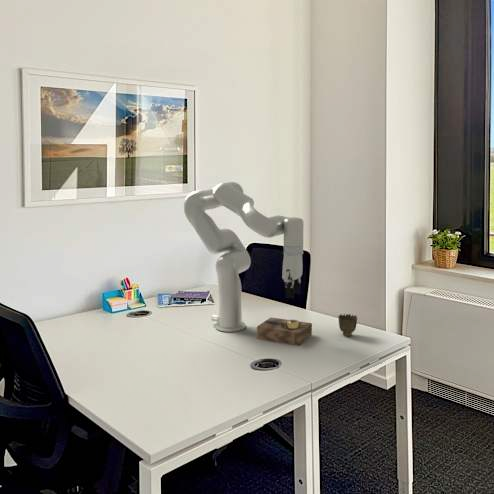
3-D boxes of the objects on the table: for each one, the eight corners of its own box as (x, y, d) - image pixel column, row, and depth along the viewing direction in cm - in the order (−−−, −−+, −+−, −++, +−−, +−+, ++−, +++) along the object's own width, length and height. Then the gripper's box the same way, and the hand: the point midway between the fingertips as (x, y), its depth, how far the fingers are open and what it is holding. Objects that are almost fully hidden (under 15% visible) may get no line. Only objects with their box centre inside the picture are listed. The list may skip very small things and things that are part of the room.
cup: (356, 339, 219) (357, 319, 217) (337, 338, 220) (338, 318, 219) (356, 333, 226) (357, 314, 225) (338, 332, 227) (338, 313, 226)
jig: (257, 338, 221) (257, 324, 220) (270, 328, 232) (270, 315, 231) (299, 345, 213) (299, 330, 212) (311, 335, 224) (311, 321, 223)
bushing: (285, 339, 220) (285, 321, 219) (289, 335, 224) (289, 318, 222) (295, 340, 218) (295, 323, 217) (299, 337, 222) (300, 320, 220)
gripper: (292, 245, 224) (292, 289, 227) (275, 253, 209) (275, 299, 212) (310, 247, 220) (310, 291, 224) (294, 254, 205) (293, 302, 208)
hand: (293, 295), depth 218 cm, fingers open, 5 cm apart
